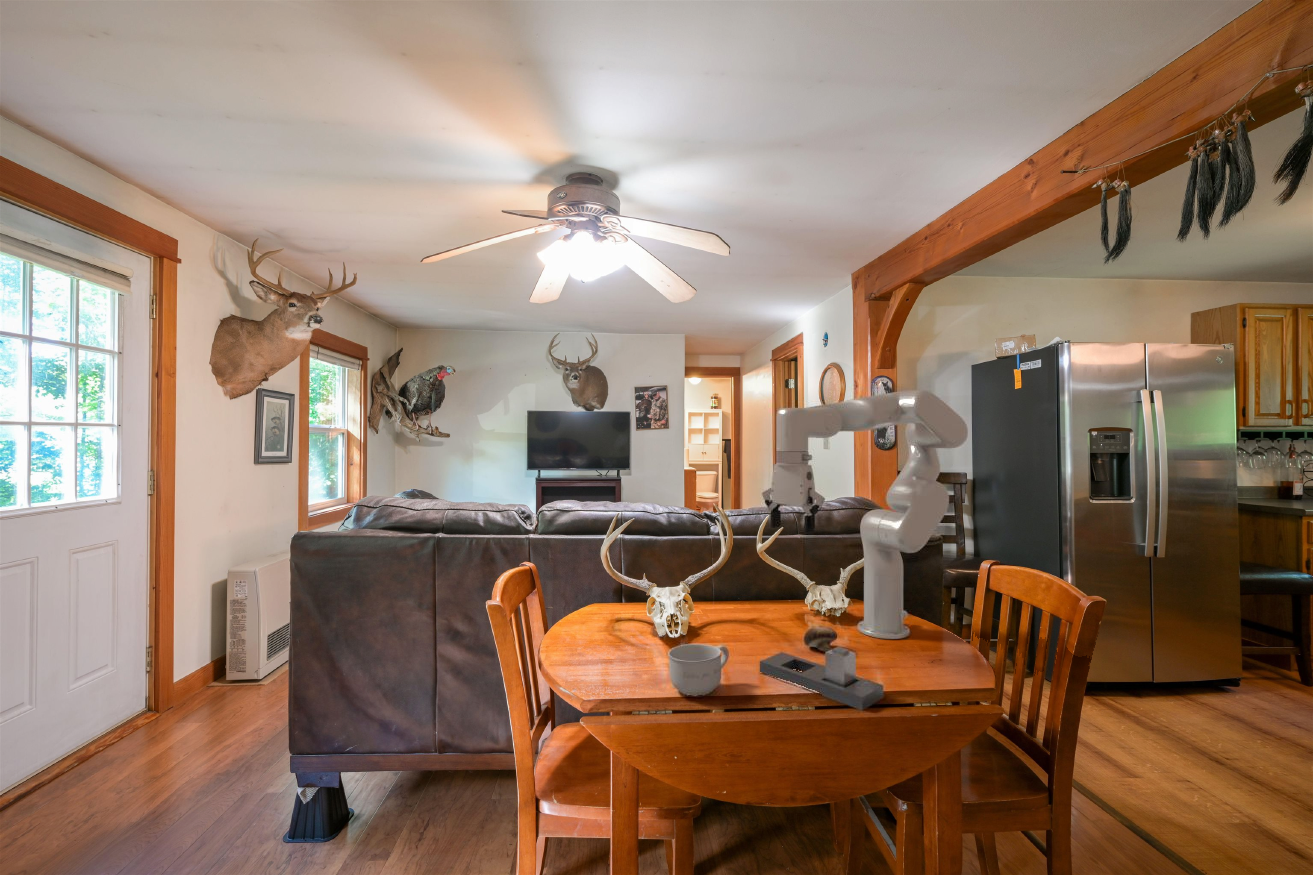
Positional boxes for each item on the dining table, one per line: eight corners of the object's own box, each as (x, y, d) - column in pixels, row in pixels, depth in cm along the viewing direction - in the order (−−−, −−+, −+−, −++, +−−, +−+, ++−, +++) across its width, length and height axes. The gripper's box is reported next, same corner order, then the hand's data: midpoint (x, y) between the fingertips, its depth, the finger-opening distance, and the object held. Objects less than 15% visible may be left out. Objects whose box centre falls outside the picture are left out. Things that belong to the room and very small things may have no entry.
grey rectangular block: (836, 685, 124) (836, 644, 124) (855, 692, 121) (855, 649, 121) (825, 691, 121) (825, 649, 121) (844, 698, 118) (844, 654, 118)
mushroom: (840, 644, 139) (830, 618, 142) (807, 655, 140) (797, 629, 144) (844, 650, 145) (834, 625, 149) (812, 661, 147) (803, 635, 150)
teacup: (682, 706, 115) (682, 664, 115) (659, 684, 125) (659, 645, 125) (745, 693, 121) (745, 653, 121) (718, 673, 131) (718, 636, 131)
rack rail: (759, 672, 131) (759, 661, 131) (781, 663, 136) (781, 651, 136) (862, 710, 113) (862, 697, 113) (883, 697, 119) (883, 684, 119)
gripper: (832, 459, 143) (832, 532, 143) (772, 457, 156) (772, 523, 156) (814, 460, 138) (814, 535, 138) (754, 458, 151) (754, 526, 151)
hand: (792, 529), depth 147 cm, fingers open, 9 cm apart
